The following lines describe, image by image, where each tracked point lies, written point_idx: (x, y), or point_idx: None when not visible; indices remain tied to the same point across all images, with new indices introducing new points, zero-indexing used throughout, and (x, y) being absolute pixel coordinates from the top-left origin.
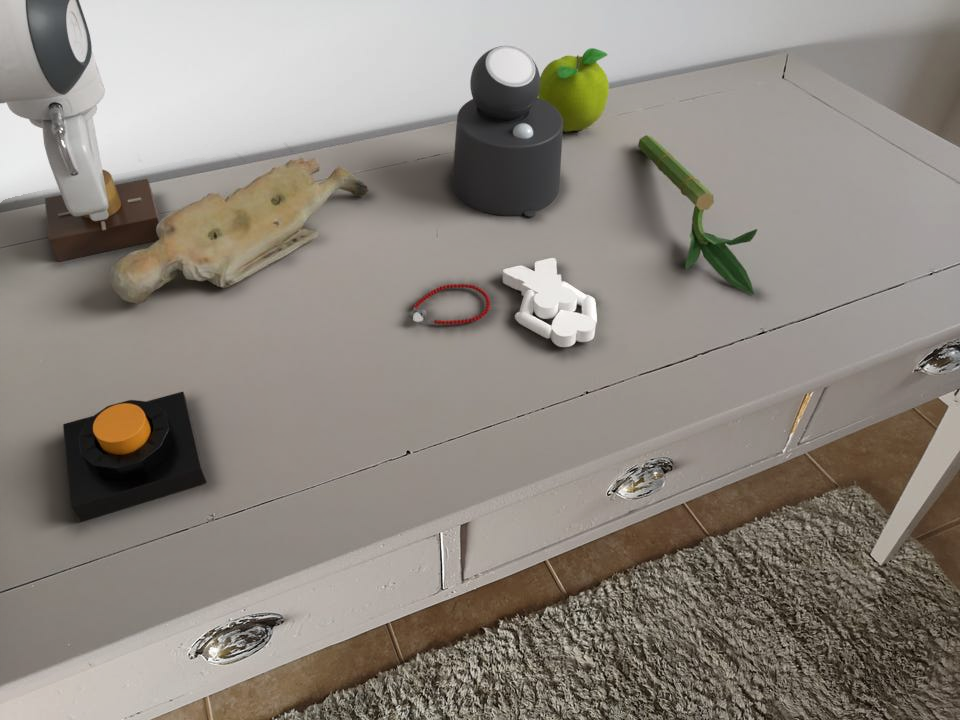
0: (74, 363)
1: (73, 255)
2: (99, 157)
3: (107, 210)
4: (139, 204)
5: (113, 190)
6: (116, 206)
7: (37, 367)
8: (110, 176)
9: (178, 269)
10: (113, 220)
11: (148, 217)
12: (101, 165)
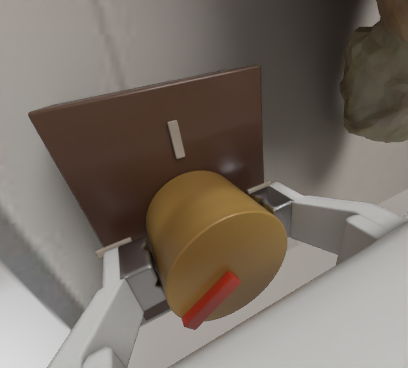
0: (380, 162)
1: None
2: (386, 308)
3: (266, 189)
4: (194, 123)
5: (237, 193)
6: (222, 177)
7: (368, 192)
8: (228, 220)
9: (363, 27)
10: (244, 174)
11: (256, 90)
12: (402, 265)
